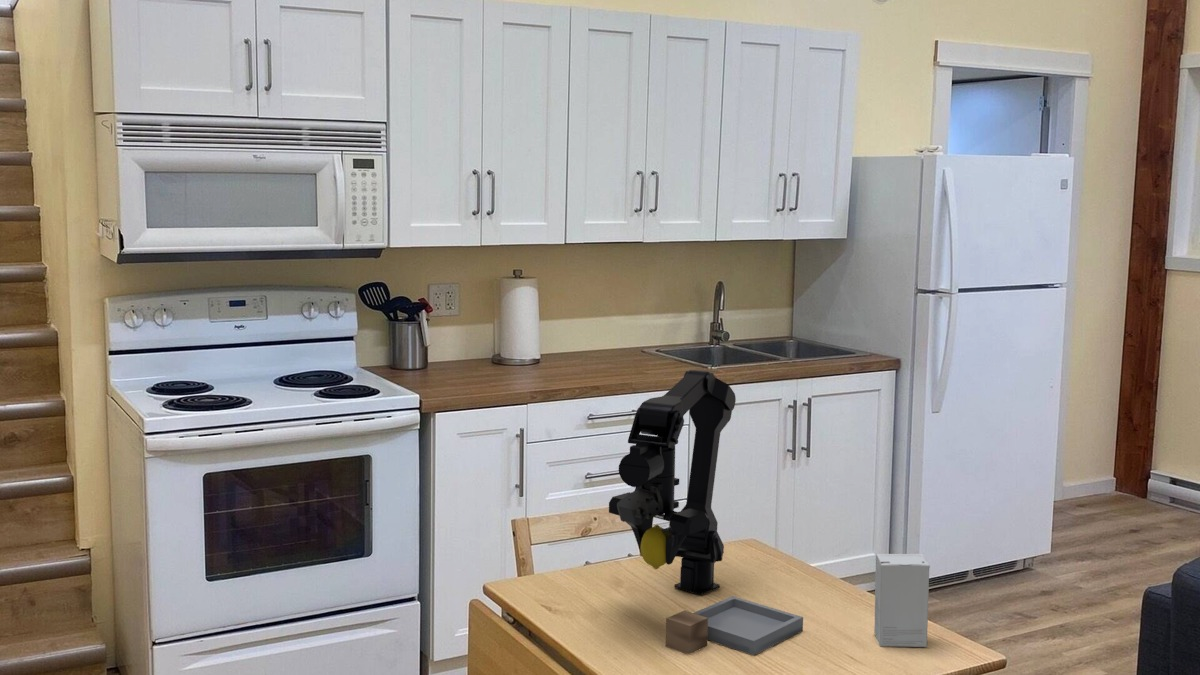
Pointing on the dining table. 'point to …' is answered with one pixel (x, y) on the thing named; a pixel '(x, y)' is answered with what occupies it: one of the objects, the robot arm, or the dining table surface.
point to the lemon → (654, 547)
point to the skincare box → (901, 600)
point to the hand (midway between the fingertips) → (656, 560)
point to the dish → (749, 625)
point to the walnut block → (686, 632)
